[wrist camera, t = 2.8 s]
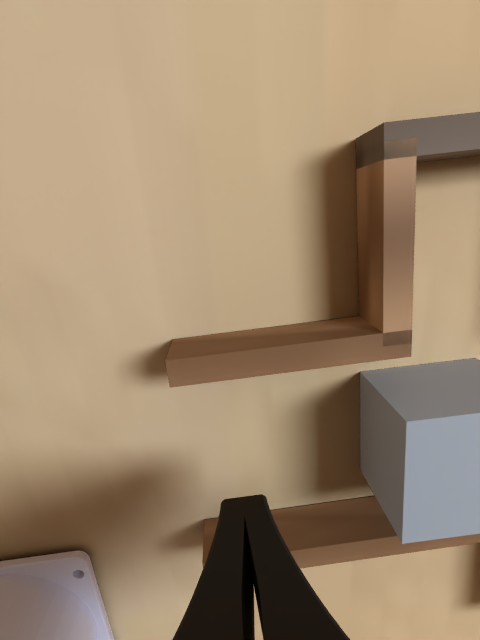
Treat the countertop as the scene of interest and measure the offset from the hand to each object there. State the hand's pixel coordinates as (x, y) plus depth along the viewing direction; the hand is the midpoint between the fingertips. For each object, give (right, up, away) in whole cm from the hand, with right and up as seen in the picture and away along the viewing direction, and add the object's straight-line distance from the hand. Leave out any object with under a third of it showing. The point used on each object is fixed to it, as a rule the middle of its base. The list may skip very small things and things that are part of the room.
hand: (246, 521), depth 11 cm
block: (+8, +2, +5) cm, 9 cm away
